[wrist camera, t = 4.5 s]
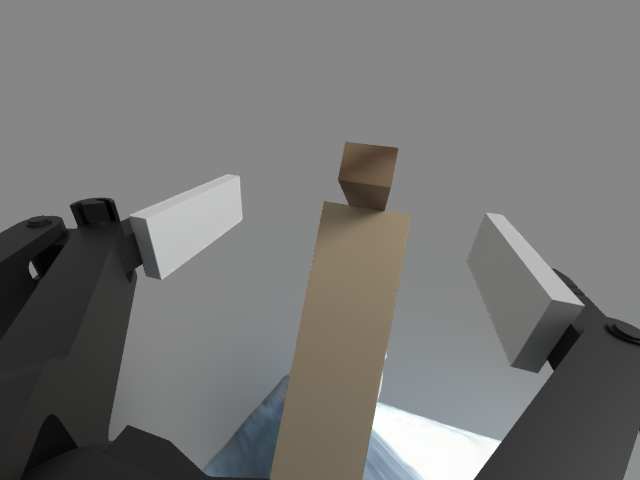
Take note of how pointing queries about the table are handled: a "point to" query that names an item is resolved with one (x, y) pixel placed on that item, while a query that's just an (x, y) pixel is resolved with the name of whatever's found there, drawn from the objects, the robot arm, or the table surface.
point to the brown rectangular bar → (367, 174)
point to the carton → (341, 344)
